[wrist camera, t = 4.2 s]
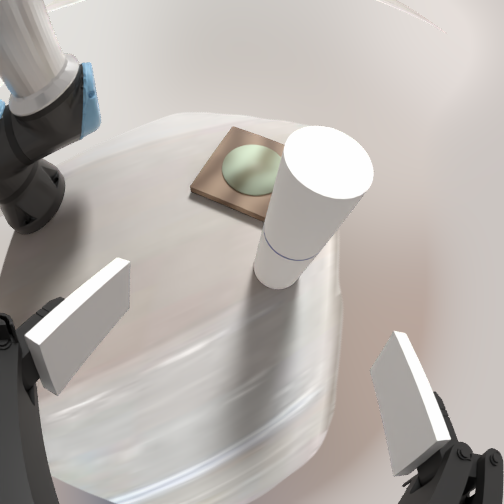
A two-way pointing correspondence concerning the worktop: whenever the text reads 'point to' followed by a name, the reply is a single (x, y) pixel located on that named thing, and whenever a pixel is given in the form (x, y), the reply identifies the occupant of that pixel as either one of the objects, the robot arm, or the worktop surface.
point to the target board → (241, 173)
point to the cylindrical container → (309, 201)
